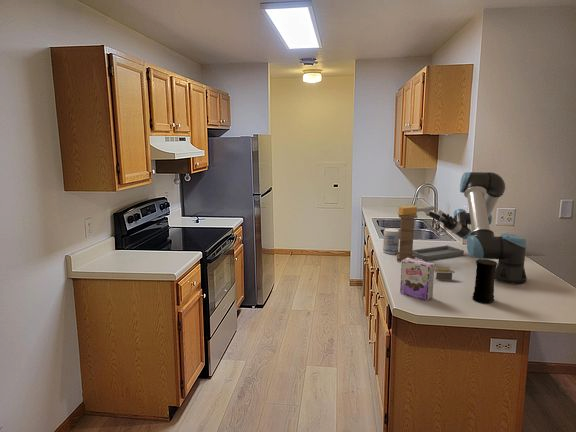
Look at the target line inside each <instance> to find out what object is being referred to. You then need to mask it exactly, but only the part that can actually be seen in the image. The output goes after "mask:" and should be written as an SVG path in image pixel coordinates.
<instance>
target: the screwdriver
mask: <svg viewBox="0 0 576 432" xmlns="http://www.w3.org/2000/svg"><path fill="white" fill-rule="evenodd" d="M429 210H430V211H434V210H435V206H434V205H432V206H431V205H430V206H424V207H423V206H421V207H419V206H416V205H415V206H414V205H410V206H409V205H408V206H398V212H399V213H397V214H401V215H408V214H417V213H418V212H423V211H429ZM417 215H418V214H417Z"/></svg>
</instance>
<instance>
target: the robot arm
mask: <svg viewBox="0 0 576 432" xmlns="http://www.w3.org/2000/svg"><path fill="white" fill-rule="evenodd" d="M459 191H460V193H462V194H463V196H464V197H465V198H466V199H467V202H468V210H469V212H467V211H466V210H465V209H464V208H458V209H455V210H454V211H453V216H452V215H450V214H449V213H445V212H444V211H442V210H440V209H438V210H437V212H436V213H435V212H433V211H432V210H429V211H422V212H424V214H425V215H426V217H428V216H429V217H430V218H432V219H434V220H436V221H438V222H441V223H442V224H443V227H444V228H445V229H447V230H449V231H451V234H454V235H456V236H458V237H459V238H461V239H463V240H466V249H467V252H468V254H469V256H470V257H471V258H472V259H478V260H479V259H488V260H498V262H497V266H496V269H495V272H496V273H495V280H496V281H498V282H501V283H504V284H510V285H523V284H526V283H527V280H528V277H527V274H526V273H527V272H526V268H525V261H526V259H525V258H526V249H527V240H526V238H525V237H523V236H520V235H516V234H513V233H505V232H504V233H501V234H500V235H499V236H495V233H494V231H493V230H491V229H490V228H491V227H490V225H491V224H492V222H493V216H492V212H493V210H494V209H495V207H496V205H497V203H498V201H499V199H500V197H502V196H503V195H504V193H505V191H506V183H505V180H504V179H503V178H502V176H500V175H499V174H497V173H495V172H490V171H489V172H487V171H486V172H485V171H484V172H481V171H480V172H475V171H473V172H472V171H466V172H463V174H462V175H461V179H460V183H459ZM422 207H425V206H424V205H423V206H422ZM468 225H470V227H471V229H470V227H469V226H468Z"/></svg>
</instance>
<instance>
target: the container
mask: <svg viewBox="0 0 576 432" xmlns="http://www.w3.org/2000/svg"><path fill="white" fill-rule="evenodd" d="M475 264H476V270H475V281H474V282H475V283H474V289H473V293H472V300H473V301H475V302H476V303H479V304H484V305H485V304H486V305H487V304H493V303H494V302H495V294H494V293H495V282H496V281H495V280H496V279H495V273H496V272H495V269H496V267H497V265H498V262H497V261H496V260H493V259H479V258H478V259H476V261H475Z"/></svg>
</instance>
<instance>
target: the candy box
mask: <svg viewBox="0 0 576 432" xmlns="http://www.w3.org/2000/svg"><path fill="white" fill-rule="evenodd" d="M435 267H436V264H435V263H433V262H428V261H424V260H421V259H416V258H415V259H411V258H406V259H403V260H402V262H401V267H400V268H401V269H400V270H401V271H400V290H399V293H400V292H401V293H400V294H402V293H404V294H403V295H405V294H407V295H406V296H409V295H410V296H409V297H412V296H414V297H413V298H415V297H417V299H419V298H420V299H419V300H422V299H423V301H426V300H427V301H429V300H431V299H432V298H433V297H434V295H433V292H434V280H435V272H434V271H435Z"/></svg>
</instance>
